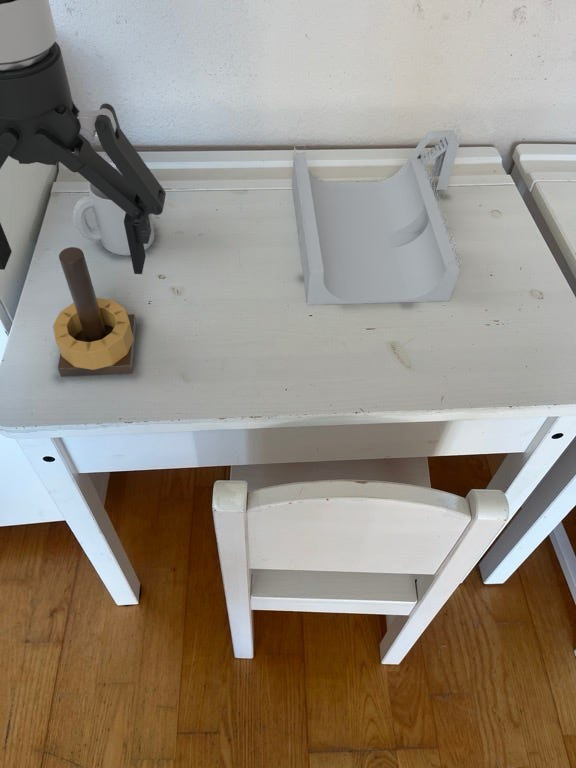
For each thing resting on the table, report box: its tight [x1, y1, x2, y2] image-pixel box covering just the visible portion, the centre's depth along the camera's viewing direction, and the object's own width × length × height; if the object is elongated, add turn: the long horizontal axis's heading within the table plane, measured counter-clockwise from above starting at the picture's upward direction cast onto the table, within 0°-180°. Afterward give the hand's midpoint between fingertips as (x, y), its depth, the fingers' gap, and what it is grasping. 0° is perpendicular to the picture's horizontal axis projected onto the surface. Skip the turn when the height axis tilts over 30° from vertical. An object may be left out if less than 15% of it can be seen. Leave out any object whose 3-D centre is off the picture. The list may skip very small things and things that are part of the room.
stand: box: [57, 246, 137, 378], centre depth 69 cm, size 8×8×14 cm
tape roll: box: [52, 297, 134, 370], centre depth 72 cm, size 8×8×3 cm
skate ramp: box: [291, 121, 463, 306], centre depth 85 cm, size 25×23×10 cm
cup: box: [72, 166, 156, 257], centre depth 83 cm, size 7×10×9 cm
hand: (72, 263), depth 64 cm, fingers open, 13 cm apart
